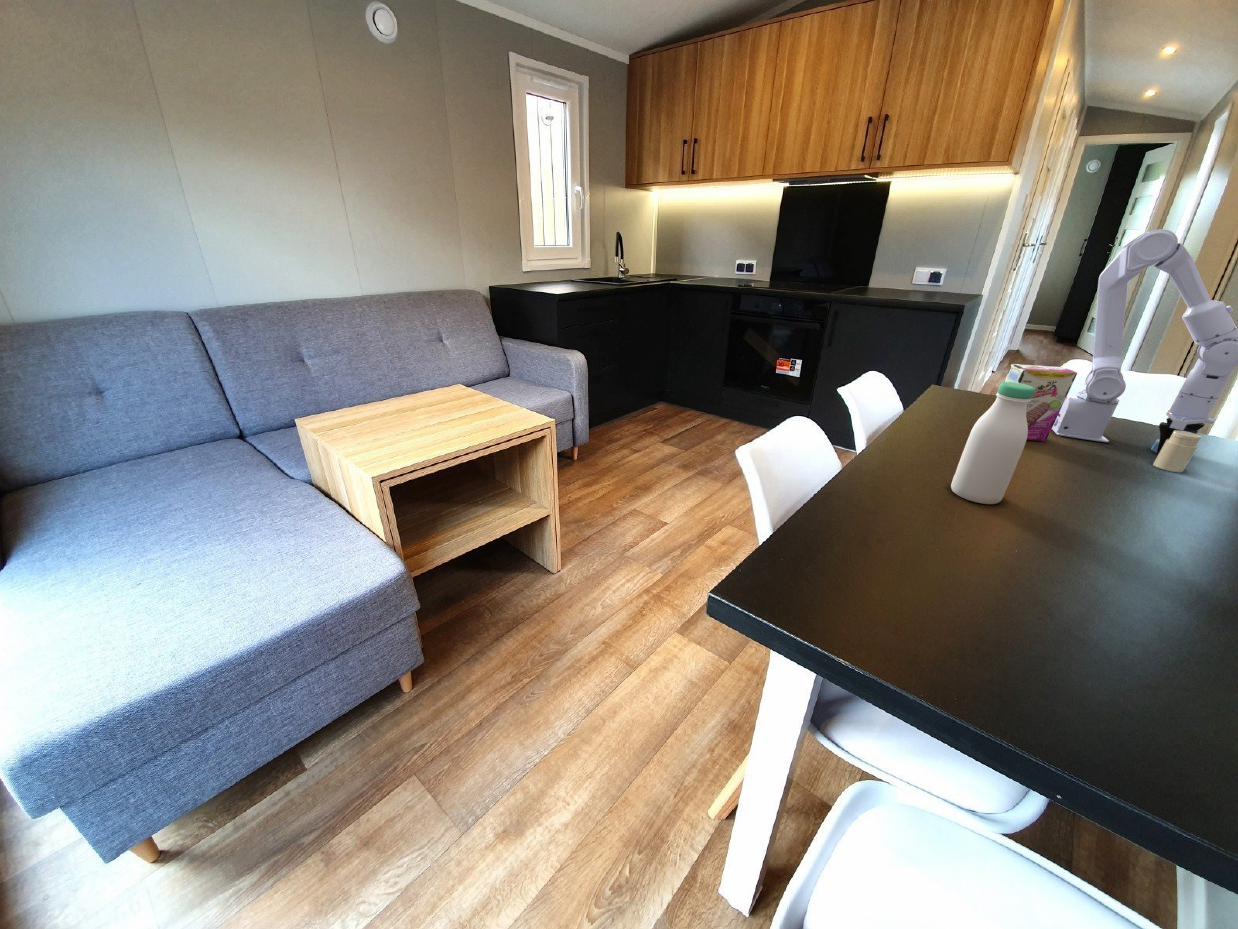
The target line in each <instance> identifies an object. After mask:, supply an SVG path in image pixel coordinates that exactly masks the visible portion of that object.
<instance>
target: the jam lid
mask: <svg viewBox="0 0 1238 929" xmlns="http://www.w3.org/2000/svg"><path fill="white" fill-rule="evenodd" d="M1159 441H1160V438H1158V439H1155V441H1154V442H1153V443H1152V445H1151V447H1150V450H1151V451H1152V452H1154V453H1156V454H1157V448H1158V445H1159Z"/></svg>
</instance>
